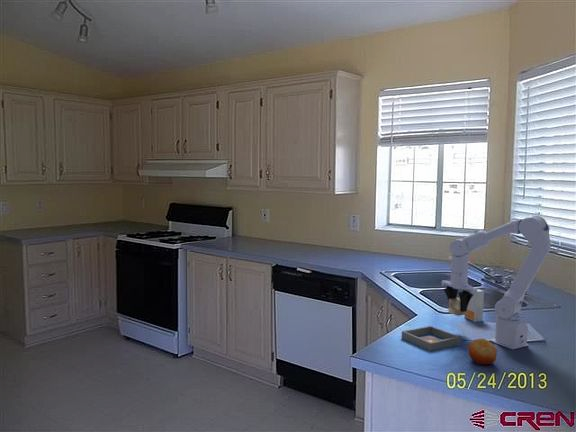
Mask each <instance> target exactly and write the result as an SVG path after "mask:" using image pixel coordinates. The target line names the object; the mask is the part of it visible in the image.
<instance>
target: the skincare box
mask: <svg viewBox="0 0 576 432" xmlns="http://www.w3.org/2000/svg"><path fill="white" fill-rule="evenodd" d="M484 299H485V291H484V290H482V289H480V288H477V294H474V295H473V296H472V298H471V299H470V301H469V304H468V307H467V314H466V315H463V316H464V318H465V319H468V320H469V321H472V322H475V323H476V322H477V323H478V322H483V319H484V304H485V303H484V301H485V300H484Z"/></svg>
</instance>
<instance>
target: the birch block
mask: <svg viewBox="0 0 576 432" xmlns="http://www.w3.org/2000/svg"><path fill="white" fill-rule="evenodd" d="M447 313H449V314H452V315H453V316H454V315H455V316H457V317H458V316H464V315H466V314H467V310H466V311H464V312H461V309H460V297H456V298H453V299H449V302H448V312H447Z"/></svg>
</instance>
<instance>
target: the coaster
mask: <svg viewBox="0 0 576 432" xmlns="http://www.w3.org/2000/svg"><path fill="white" fill-rule="evenodd" d="M421 338H422V339H424V340H426V341H429V342H435V341H440V340H441V339H440V338H439V337H433V336H422V337H421Z"/></svg>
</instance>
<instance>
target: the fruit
mask: <svg viewBox="0 0 576 432" xmlns="http://www.w3.org/2000/svg"><path fill="white" fill-rule="evenodd" d="M467 348H468V354H469V355H468V356H469V357H470V359H471V360H472V362H474V363H475V364H476V365H478V366H479V365H480V366H486V365H493V363H495V362H496V361H497V355H498V349H497V348H496V347H495V345H494V343H493V342H491V341H489V340H487V339H486V338H476V339H473V340H471V342H470V343H469V344H468V347H467Z"/></svg>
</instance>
